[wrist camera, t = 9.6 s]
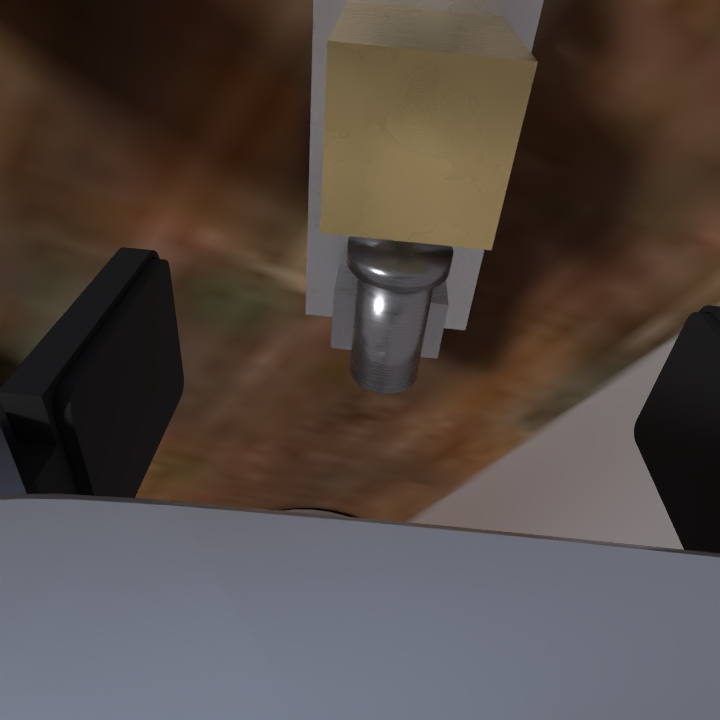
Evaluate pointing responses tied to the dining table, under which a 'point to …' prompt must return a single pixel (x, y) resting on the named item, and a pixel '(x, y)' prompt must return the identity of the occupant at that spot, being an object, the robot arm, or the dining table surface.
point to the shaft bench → (389, 244)
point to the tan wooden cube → (421, 123)
